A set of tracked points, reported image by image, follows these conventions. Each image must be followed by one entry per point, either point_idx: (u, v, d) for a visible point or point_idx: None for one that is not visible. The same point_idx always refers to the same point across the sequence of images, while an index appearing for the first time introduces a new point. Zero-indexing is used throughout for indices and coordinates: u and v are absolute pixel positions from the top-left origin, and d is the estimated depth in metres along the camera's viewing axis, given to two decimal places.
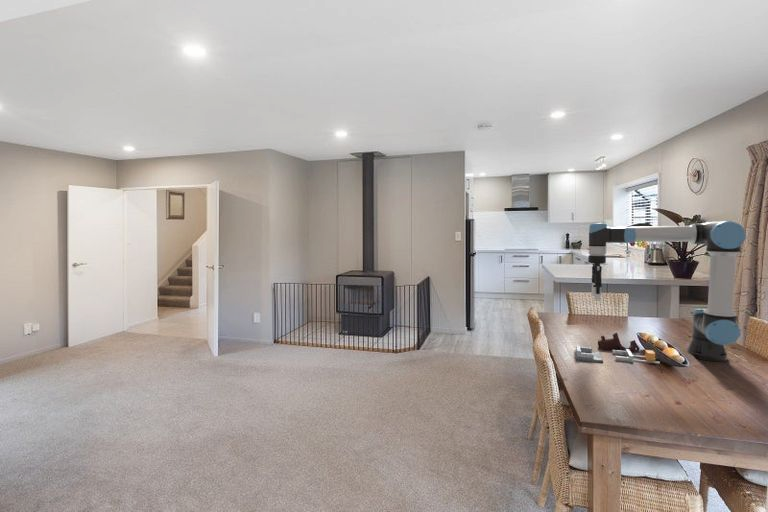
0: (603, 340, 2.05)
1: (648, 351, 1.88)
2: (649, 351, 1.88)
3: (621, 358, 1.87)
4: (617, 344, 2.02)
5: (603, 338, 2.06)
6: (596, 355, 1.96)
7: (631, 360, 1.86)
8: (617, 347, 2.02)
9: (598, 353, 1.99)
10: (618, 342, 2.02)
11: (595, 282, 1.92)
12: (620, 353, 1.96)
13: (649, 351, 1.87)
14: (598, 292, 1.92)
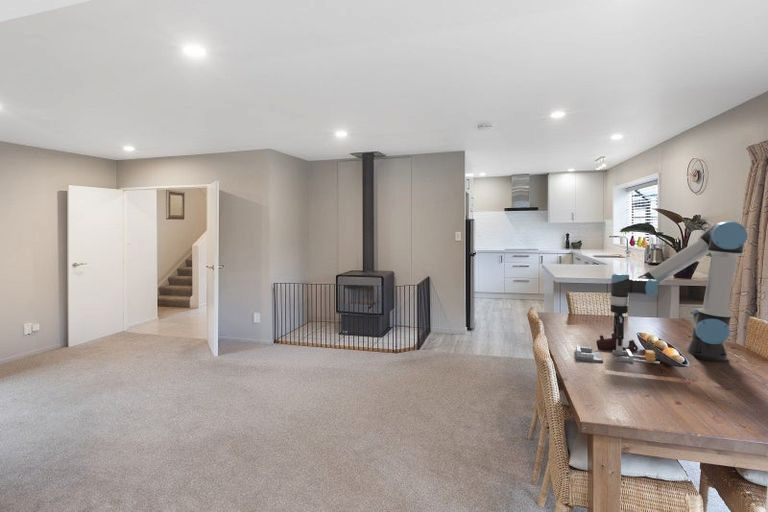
0: (602, 340, 2.05)
1: (648, 351, 1.88)
2: (649, 351, 1.88)
3: (621, 358, 1.87)
4: None
5: (602, 338, 2.06)
6: (596, 355, 1.96)
7: (631, 360, 1.86)
8: None
9: (598, 353, 1.99)
10: None
11: (617, 334, 1.98)
12: (620, 353, 1.96)
13: (649, 351, 1.87)
14: (620, 344, 1.99)
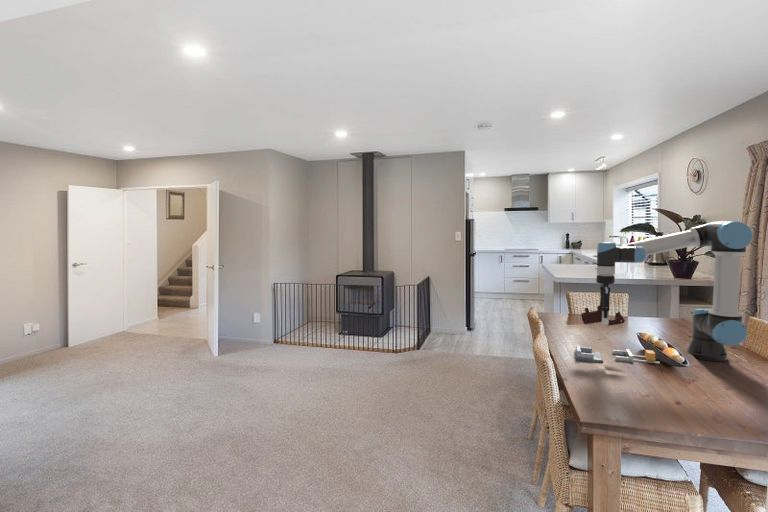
0: (587, 312, 1.95)
1: (648, 351, 1.88)
2: (649, 351, 1.88)
3: (621, 358, 1.87)
4: (601, 316, 1.91)
5: (587, 310, 1.95)
6: (596, 355, 1.96)
7: (631, 360, 1.86)
8: (601, 319, 1.92)
9: (598, 353, 1.99)
10: None
11: (603, 305, 1.88)
12: (620, 353, 1.96)
13: (649, 351, 1.87)
14: (606, 316, 1.88)
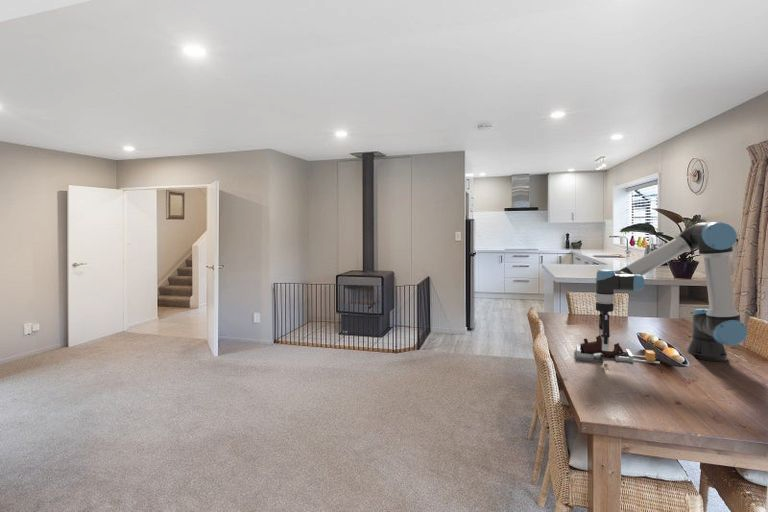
0: (586, 343, 1.96)
1: (648, 351, 1.88)
2: (649, 351, 1.88)
3: (621, 358, 1.87)
4: (600, 347, 1.93)
5: (586, 341, 1.97)
6: (596, 355, 1.96)
7: (631, 360, 1.86)
8: (600, 350, 1.93)
9: (598, 353, 1.99)
10: (601, 345, 1.93)
11: (603, 332, 1.86)
12: None
13: (649, 351, 1.87)
14: (606, 342, 1.86)
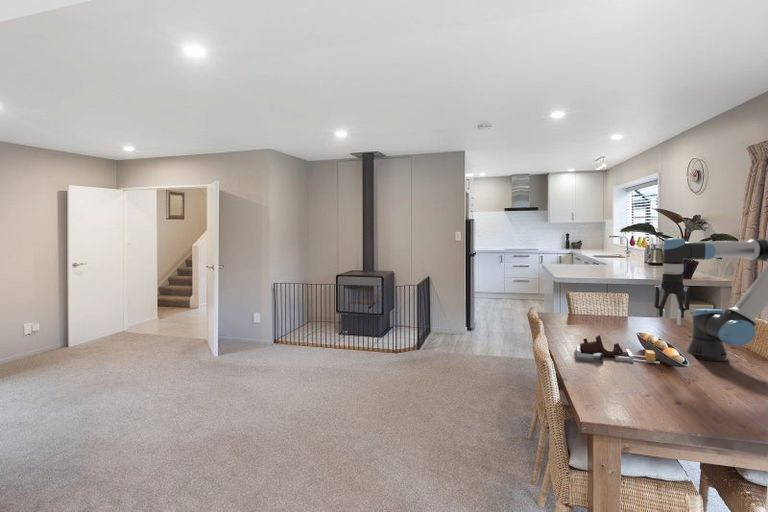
0: (585, 343, 1.96)
1: (648, 351, 1.88)
2: (649, 351, 1.88)
3: (621, 358, 1.87)
4: (600, 347, 1.93)
5: (586, 341, 1.97)
6: (596, 355, 1.96)
7: (631, 360, 1.86)
8: (600, 350, 1.93)
9: (598, 353, 1.99)
10: (601, 345, 1.93)
11: None
12: None
13: (649, 351, 1.87)
14: (659, 314, 1.85)
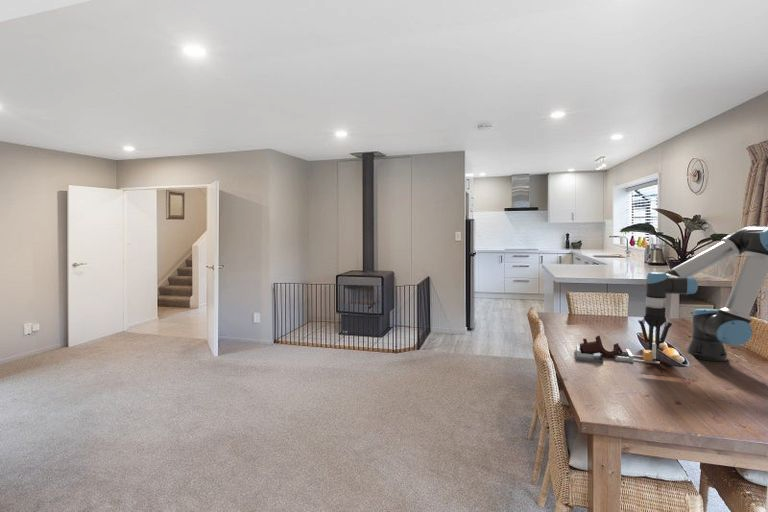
0: (585, 343, 1.96)
1: (645, 351, 1.88)
2: (646, 351, 1.88)
3: (621, 358, 1.87)
4: (599, 347, 1.93)
5: (585, 341, 1.97)
6: (596, 355, 1.96)
7: (631, 360, 1.86)
8: (599, 350, 1.93)
9: (598, 353, 1.99)
10: (600, 345, 1.93)
11: None
12: None
13: (646, 351, 1.88)
14: None
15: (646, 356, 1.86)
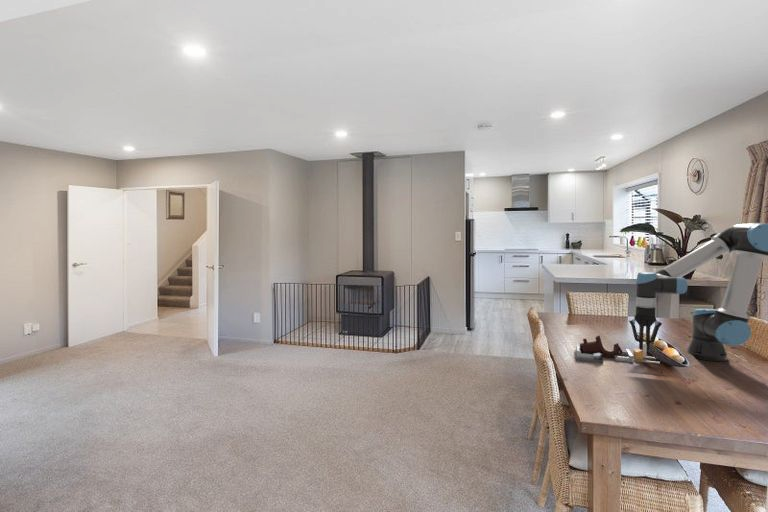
0: (585, 343, 1.96)
1: (636, 350, 1.89)
2: (637, 350, 1.89)
3: (621, 358, 1.87)
4: (599, 347, 1.93)
5: (585, 341, 1.97)
6: (596, 355, 1.96)
7: (631, 360, 1.86)
8: (599, 350, 1.93)
9: (598, 353, 1.99)
10: (600, 345, 1.93)
11: None
12: None
13: (637, 350, 1.89)
14: (639, 347, 1.89)
15: (637, 355, 1.87)
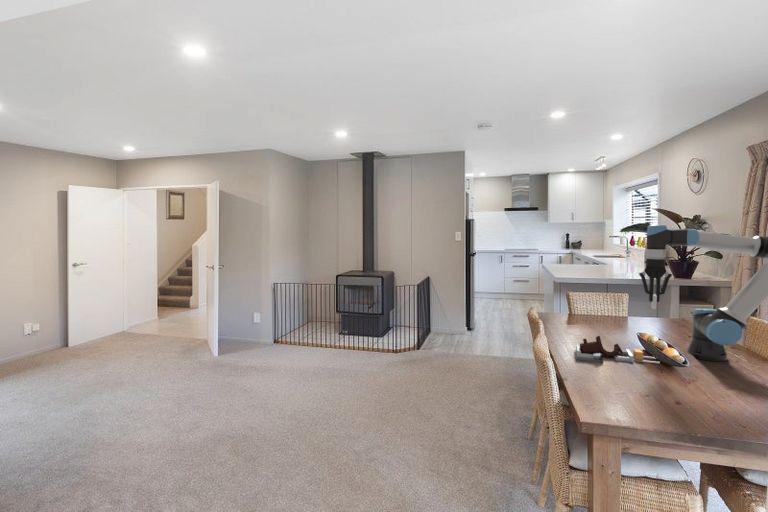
0: (585, 343, 1.96)
1: (636, 350, 1.89)
2: (637, 350, 1.89)
3: (621, 358, 1.87)
4: (599, 347, 1.92)
5: (585, 341, 1.97)
6: (596, 355, 1.96)
7: (631, 360, 1.86)
8: (599, 351, 1.93)
9: (598, 353, 1.99)
10: (600, 345, 1.92)
11: None
12: None
13: (637, 350, 1.89)
14: (649, 299, 1.91)
15: (637, 355, 1.87)
